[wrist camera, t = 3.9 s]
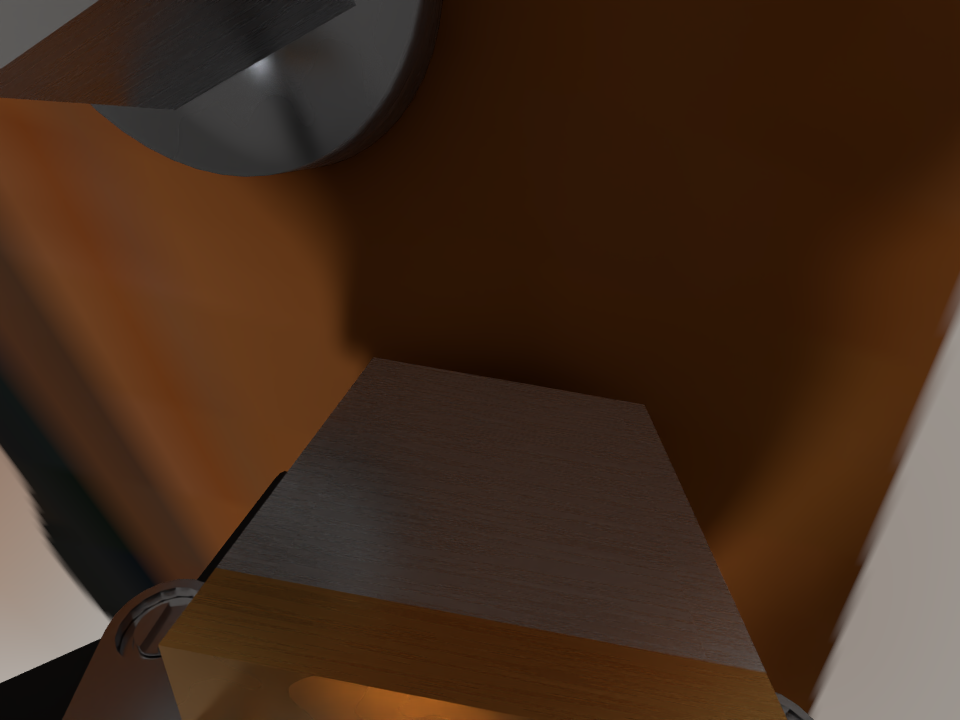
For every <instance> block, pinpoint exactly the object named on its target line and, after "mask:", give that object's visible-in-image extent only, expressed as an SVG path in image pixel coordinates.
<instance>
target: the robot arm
mask: <svg viewBox="0 0 960 720" xmlns="http://www.w3.org/2000/svg"><path fill="white" fill-rule="evenodd" d="M286 473H287V472H286V471H284V472H282V473H280V474H279V475H278V476H277V477H276V478H275V479H274V481H273V482H272V483H271V485H270V486H269V487H268V488H267V490H266V491H265V492H264V494H263V495H262V496H261V498H260V499H259V500H258V501H257V503H256V504H255V505H254V507H253V508H252V509H251V511H250V512H249V513H248V514H247V516H246V517H245V518H244V520H243V521H242V522H241V524H240V525H239V526H238V527H237V529H236V530H235V531H234V533H233V534H232V535H231V536H230V538H229V539H228V540H227V542H226V543H225V544H224V546H223V547H222V548H221V549H220V551H219V552H218V553H217V555H216V556H215V557H214V559H213V560H212V561H211V562H210V564H209V565H208V566H207V568H206V569H205V570H204V572H203V573H202V574H201V575H200V577H199V578H198V579H197V580H195V579H177V580H173V581H168V582H164V583H161V584H159V585H156V586H154V587H152V588H150V589H147V590H145V591H144V592H142V593H141V594H139V595H138V596H136V597H135V598H133V599H132V600H130V601H129V602H128V603H127V604H126V605H125V606H124V607H123V608H122V609H121V610H120V611H119V612H118V613H117V614H116V615H115V616H114V618H113V619H112V621H111V622H110V624H109V625H108V627H107V629H106V630H105V632H104V634H103V636H102V638H101V639H99V640H96V641H94V642H92V643H90V644H88V645H85V646H83V647H81V648H78V649H76V650H74V651H72V652H69V653H67V654H65V655H63V656H61V657H58V658H56V659H54V660H51V661H49V662H47V663H45V664H42V665H41V666H38V667H36V668H33V669H31V670H29V671H27V672H24V673H22V674H20V675H18V676H15V677H13V678H11V679H9V680H6V681H4V682H2V683H0V720H182V719H181V716H180V712H179V709H178V706H177V703H176V700H175V697H174V694H173V690H172V687H171V684H170V681H169V678H168V675H167V671H166V668H165V665H164V662H163V659H162V656H161V653H160V649H159V646H158V645H159V643H160V642H161V641H162V639H163V638H164V637H165V635H166V634H167V633H168V631H169V630H170V629H171V627H172V626H173V625H174V623H175V622H176V621H177V619H178V618H179V616H180V615H181V614H182V612H183V611H184V610H185V608H186V607H187V606H188V604H189V603H190V602H191V600H192V599H193V598H194V596H195V595H196V594H197V592H198V591H199V590H200V588H201V587H202V586H203V584H204V583H205V582H206V580H207V579H208V578H209V576H210V575H211V574H212V572H213V571H214V570H215V568H216V567H217V566H218V564H219V563H220V562H221V560H222V559H223V558H224V556H225V555H226V554H227V552H228V551H229V550H230V548H231V547H232V546H233V544H234V543H235V542H236V540H237V539H238V538H239V536H240V535H241V534H242V532H243V531H244V530H245V528H246V527H247V526H248V524H249V523H250V522H251V520H252V519H253V518H254V516H255V515H256V514H257V512H258V511H259V510H260V508H261V507H262V506H263V504H264V503H265V502H266V500H267V499H268V498H269V496H270V495H271V494H272V492H273V491H274V489H275V488H276V487H277V485H278V484H279V483H280V481H281V480H282V479H283V477H284V476H285V475H286ZM775 694H776V696H777V698H778V700H779V702H780V705H781V707H782V709H783V711H784V713H785V716H786V718H787V720H813V719H812V718H811V717H810V716H809V715H808V714H807V713H806V712H805V711H803V710H802V709H801V708H800V707H799V706H798V705H797V704H795V703H793V702H792V701H790V700H789V699H787V698H786V697H784V696H782V695H781V694H778V693H776V692H775Z"/></svg>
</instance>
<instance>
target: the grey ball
mask: <svg viewBox="0 0 960 720" xmlns="http://www.w3.org/2000/svg"><path fill="white" fill-rule="evenodd" d="M442 1H443V0H0V97H1V98H15V99H30V100H44V101H58V102H72V103H86V104H91V105H92V106H93V107H94V108H95V109H96V110H97V111H98V112H99V113H100V114H102V115H103V116H104V117H106V118H107V119H108V120H109V121H111V122H112V123H113V124H114V125H116V126H117V127H118V128H119V129H121V130H122V131H123V132H125V133H126V134H128V135H129V136H131V137H132V138H134V139H136V140H137V141H139V142H140V143H142V144H143V145H145V146H146V147H148V148H150V149H152V150H154V151H156V152H158V153H160V154H162V155H164V156H166V157H168V158H170V159H172V160H174V161H177V162H180V163H182V164H185V165H188V166H191V167H193V168H196V169H200V170H204V171H209V172H213V173H217V174H222V175H233V176H244V177H247V176H264V175H273V174H279V173H285V172H292V171H298V170H304V169H310V168H316V167H321V166H325V165H330V164H335V163H337V162H340V161H342V160H345V159H347V158H350V157H353V156H354V155H356V154H358V153H359V152H361V151H363V150H365V149H366V148H368V147H370V146H371V145H372V144H373V143H375V142H376V141H377V140H378V139H379V138H381V137H382V136H383V135H384V134H386V132H387V131H388V130H389V129H390V128H391V127H392V126H393V125H394V124H395V123H396V122H397V120H398V119H399V118H400V117H401V115H402V114H403V113H404V111H405V110H406V108H407V107H408V105H409V104H410V102H411V101H412V100H413V98H414V96H415V94H416V92H417V90H418V88H419V86H420V84H421V82H422V80H423V78H424V76H425V73H426V70H427V67H428V65H429V62H430V59H431V57H432V54H433V50H434V46H435V42H436V38H437V33H438V29H439V24H440V17H441V9H442Z"/></svg>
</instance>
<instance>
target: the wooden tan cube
mask: <svg viewBox="0 0 960 720" xmlns="http://www.w3.org/2000/svg"><path fill="white" fill-rule="evenodd" d="M158 646H159V649H160V653H161V656H162V659H163V662H164V665H165V668H166V671H167V675H168V678H169V681H170V684H171V687H172V690H173V694H174V697H175V700H176V703H177V706H178V709H179V712H180V716H181V719H182V720H787V718H786V716H785V713H784V711H783V709H782V707H781V705H780V702H779V700H778V698H777V696H776V694H775V691H774V689H773V687H772V685H771V683H770V680H769V678H768V676H767V674H766V672H765V669H764V667H763V665H762V663H761V660H760V658H759V656H758V654H757V652H756V649H755V647H754V645H753V643H752V641H751V638H750V636H749V634H748V632H747V630H746V627H745V625H744V623H743V621H742V619H741V616H740V614H739V612H738V610H737V608H736V605H735V603H734V601H733V599H732V597H731V594H730V592H729V590H728V588H727V586H726V583H725V581H724V579H723V577H722V575H721V572H720V570H719V568H718V566H717V563H716V561H715V559H714V557H713V555H712V552H711V550H710V548H709V546H708V544H707V541H706V539H705V537H704V535H703V533H702V530H701V528H700V526H699V524H698V522H697V519H696V517H695V515H694V513H693V511H692V508H691V506H690V504H689V502H688V500H687V497H686V495H685V493H684V491H683V489H682V486H681V484H680V482H679V480H678V478H677V475H676V473H675V471H674V469H673V466H672V464H671V462H670V460H669V458H668V455H667V453H666V451H665V449H664V447H663V444H662V442H661V440H660V438H659V436H658V433H657V431H656V429H655V427H654V425H653V422H652V420H651V418H650V416H649V414H648V411H647V409H646V407H645V405H644V404H638V403H632V402H626V401H621V400H615V399H609V398H604V397H598V396H592V395H587V394H581V393H575V392H569V391H564V390H558V389H552V388H547V387H541V386H535V385H529V384H524V383H518V382H512V381H507V380H501V379H495V378H489V377H484V376H478V375H472V374H467V373H461V372H455V371H449V370H444V369H438V368H432V367H427V366H421V365H415V364H409V363H404V362H398V361H392V360H387V359H381V358H375V357H373V358H372V360H371V361H370V362H369V364H368V365H367V367H366V368H365V369H364V371H363V372H362V373H361V375H360V376H359V377H358V379H357V380H356V381H355V383H354V384H353V385H352V387H351V388H350V389H349V391H348V392H347V393H346V395H345V396H344V397H343V399H342V400H341V401H340V403H339V404H338V405H337V407H336V408H335V409H334V411H333V412H332V413H331V415H330V416H329V417H328V419H327V420H326V421H325V423H324V424H323V425H322V427H321V428H320V429H319V431H318V432H317V433H316V435H315V436H314V437H313V439H312V440H311V441H310V443H309V444H308V445H307V447H306V448H305V449H304V451H303V452H302V453H301V455H300V456H299V457H298V459H297V460H296V461H295V463H294V464H293V465H292V467H291V468H290V469H289V471H288V472H287V473H286V475H285V476H284V477H283V479H282V480H281V481H280V483H279V484H278V485H277V487H276V488H275V489H274V491H273V492H272V494H271V495H270V496H269V498H268V499H267V500H266V502H265V503H264V504H263V506H262V507H261V508H260V510H259V511H258V512H257V514H256V515H255V516H254V518H253V519H252V520H251V522H250V523H249V524H248V526H247V527H246V528H245V530H244V531H243V532H242V534H241V535H240V536H239V538H238V539H237V540H236V542H235V543H234V544H233V546H232V547H231V548H230V550H229V551H228V552H227V554H226V555H225V556H224V558H223V559H222V560H221V562H220V563H219V564H218V566H217V567H216V568H215V570H214V571H213V572H212V574H211V575H210V576H209V578H208V579H207V580H206V582H205V583H204V584H203V586H202V587H201V588H200V590H199V591H198V592H197V594H196V595H195V596H194V598H193V599H192V600H191V602H190V603H189V604H188V606H187V607H186V608H185V610H184V611H183V612H182V614H181V615H180V616H179V618H178V619H177V621H176V622H175V623H174V625H173V626H172V627H171V629H170V630H169V631H168V633H167V634H166V635H165V637H164V638H163V639H162V641H161V642H160V643H159V645H158Z"/></svg>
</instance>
